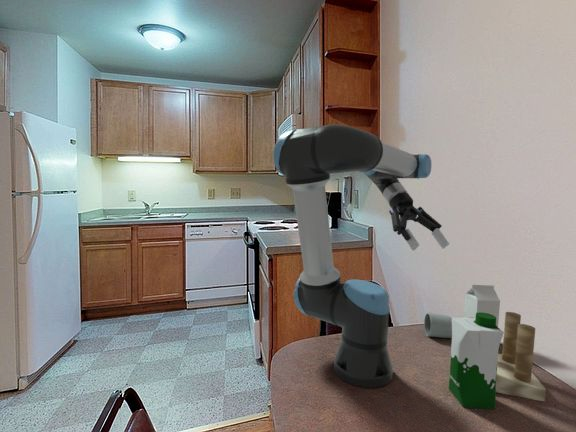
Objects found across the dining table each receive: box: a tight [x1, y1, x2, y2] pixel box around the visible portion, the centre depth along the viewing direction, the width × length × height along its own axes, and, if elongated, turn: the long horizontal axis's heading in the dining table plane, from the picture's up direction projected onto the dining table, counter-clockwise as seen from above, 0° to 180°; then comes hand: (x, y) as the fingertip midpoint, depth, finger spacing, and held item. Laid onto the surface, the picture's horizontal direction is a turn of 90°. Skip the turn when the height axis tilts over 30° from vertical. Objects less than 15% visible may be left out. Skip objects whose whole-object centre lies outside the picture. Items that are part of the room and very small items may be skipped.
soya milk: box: [448, 313, 504, 410], centre depth 74 cm, size 9×9×20 cm
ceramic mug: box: [423, 312, 453, 339], centre depth 109 cm, size 11×8×8 cm
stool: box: [496, 311, 547, 402], centre depth 83 cm, size 16×16×16 cm
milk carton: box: [463, 284, 501, 328], centre depth 104 cm, size 7×7×19 cm
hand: (431, 247), depth 100 cm, fingers open, 13 cm apart
